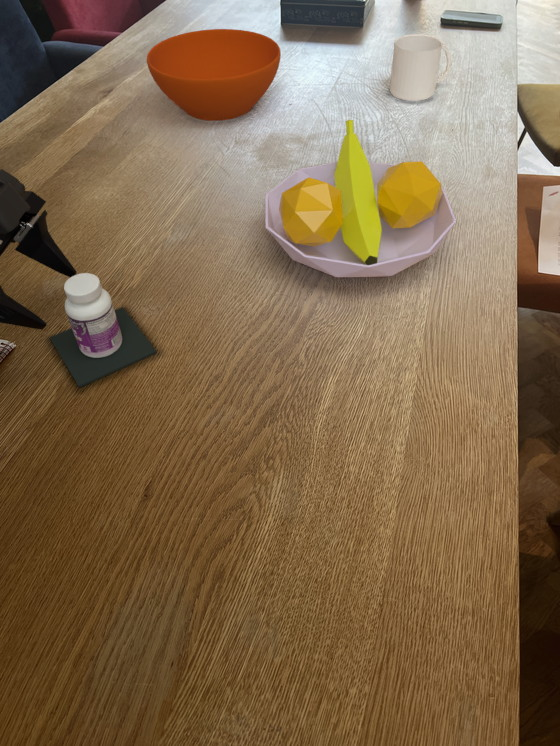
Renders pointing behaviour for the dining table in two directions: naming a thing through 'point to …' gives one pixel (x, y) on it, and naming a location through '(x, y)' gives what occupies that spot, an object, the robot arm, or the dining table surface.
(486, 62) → the dining table surface
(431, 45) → the mug
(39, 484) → the dining table surface
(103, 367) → the mat
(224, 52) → the bowl
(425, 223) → the fruit bowl
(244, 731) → the dining table surface
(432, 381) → the dining table surface
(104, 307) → the pill bottle
